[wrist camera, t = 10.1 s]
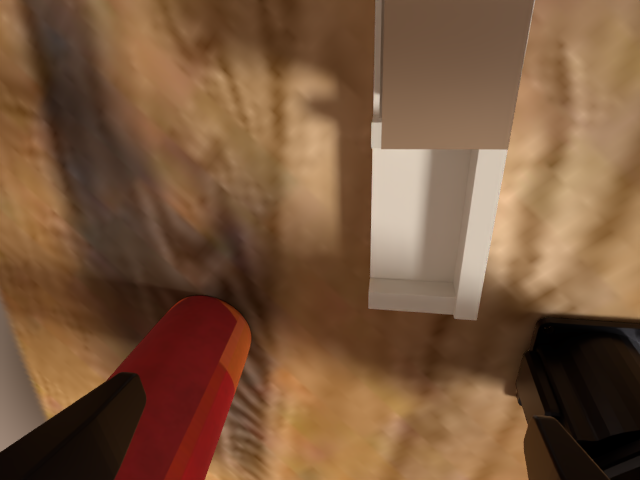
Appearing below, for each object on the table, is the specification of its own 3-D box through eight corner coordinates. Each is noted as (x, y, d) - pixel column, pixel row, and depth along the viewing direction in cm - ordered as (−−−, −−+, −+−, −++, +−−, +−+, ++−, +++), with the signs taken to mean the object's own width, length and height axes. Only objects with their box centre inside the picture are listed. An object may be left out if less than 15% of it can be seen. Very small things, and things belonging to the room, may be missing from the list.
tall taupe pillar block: (390, -78, 14) (383, -140, 8) (488, -86, 13) (562, -160, 7) (385, 96, 16) (377, 149, 10) (467, 94, 16) (508, 149, 10)
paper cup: (130, 311, 27) (-86, 557, 15) (210, 260, 24) (18, 520, 12) (211, 387, 29) (81, 652, 17) (293, 349, 26) (204, 641, 14)
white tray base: (536, -149, 13) (568, -185, 11) (467, 282, 22) (476, 320, 19) (380, -133, 14) (375, -163, 12) (371, 277, 23) (368, 312, 20)
